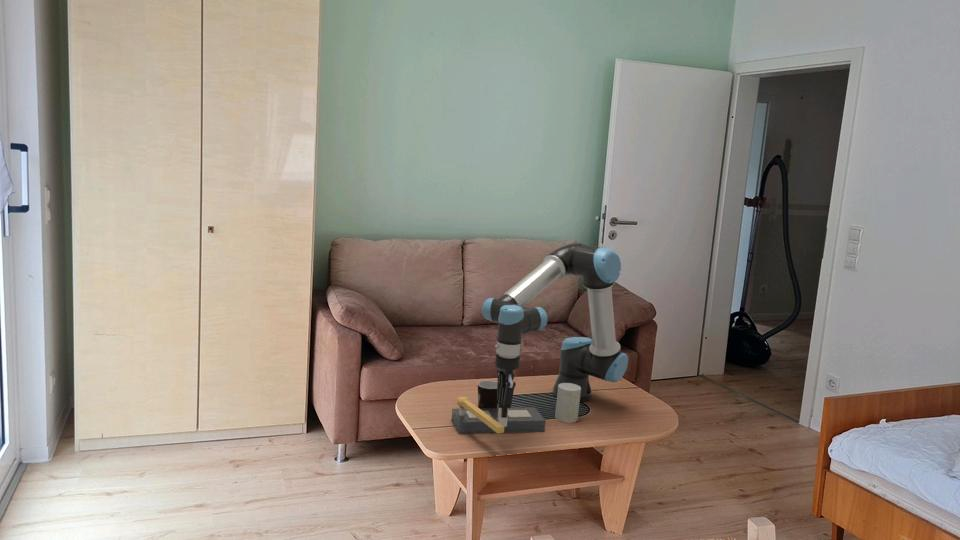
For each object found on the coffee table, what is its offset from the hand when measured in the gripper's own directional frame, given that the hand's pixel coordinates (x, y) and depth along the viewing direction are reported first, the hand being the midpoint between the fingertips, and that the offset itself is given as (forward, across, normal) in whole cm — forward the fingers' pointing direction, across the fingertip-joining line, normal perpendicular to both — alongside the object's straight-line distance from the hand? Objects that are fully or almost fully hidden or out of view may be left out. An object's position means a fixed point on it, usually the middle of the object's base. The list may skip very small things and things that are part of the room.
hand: (502, 425), depth 233 cm
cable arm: (-1, -5, -6) cm, 8 cm away
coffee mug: (+8, -32, +4) cm, 33 cm away
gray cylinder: (+8, -22, +31) cm, 39 cm away
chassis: (+7, -17, +4) cm, 19 cm away
